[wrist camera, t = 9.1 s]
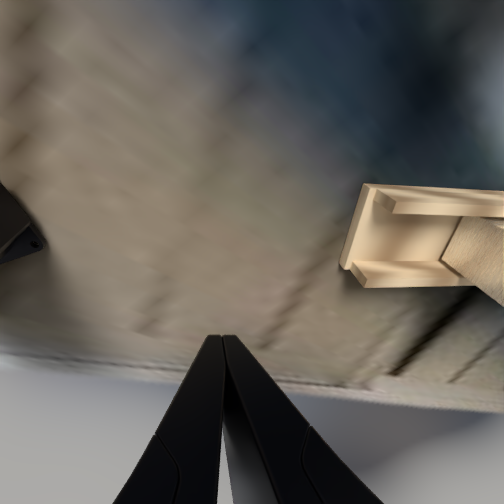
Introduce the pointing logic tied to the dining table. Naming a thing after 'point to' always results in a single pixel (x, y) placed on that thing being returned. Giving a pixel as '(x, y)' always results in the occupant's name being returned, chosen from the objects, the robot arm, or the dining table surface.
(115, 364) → the dining table surface
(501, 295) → the brushed grey block
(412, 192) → the guide channel
